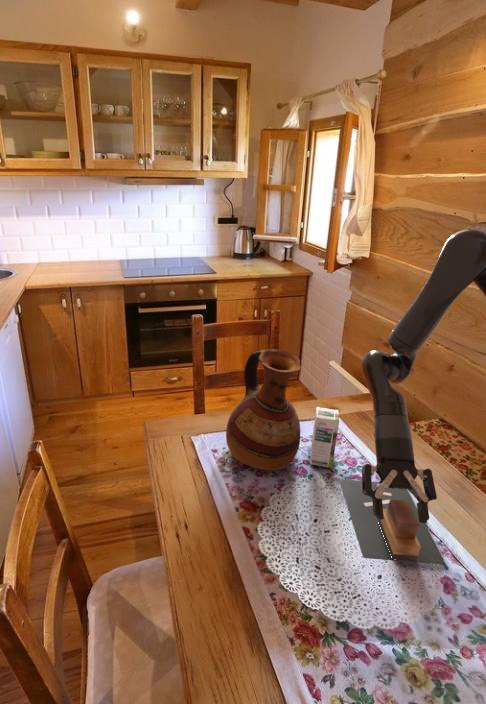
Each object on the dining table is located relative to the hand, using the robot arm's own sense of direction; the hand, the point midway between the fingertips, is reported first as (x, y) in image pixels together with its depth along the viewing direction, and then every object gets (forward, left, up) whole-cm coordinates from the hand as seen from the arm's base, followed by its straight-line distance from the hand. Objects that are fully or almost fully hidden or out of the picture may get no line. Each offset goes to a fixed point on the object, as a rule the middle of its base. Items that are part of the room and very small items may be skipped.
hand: (401, 521), depth 82 cm
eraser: (0, 0, -6) cm, 6 cm away
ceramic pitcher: (+27, -27, -7) cm, 39 cm away
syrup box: (+11, -26, -7) cm, 29 cm away
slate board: (0, -7, -6) cm, 9 cm away
